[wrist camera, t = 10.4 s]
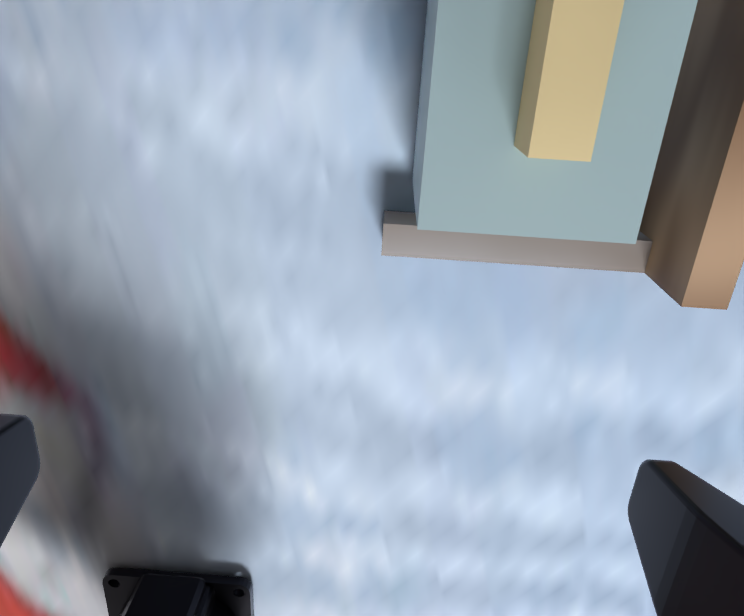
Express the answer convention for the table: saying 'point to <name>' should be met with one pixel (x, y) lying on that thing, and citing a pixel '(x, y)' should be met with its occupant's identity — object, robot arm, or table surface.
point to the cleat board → (653, 187)
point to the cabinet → (544, 114)
